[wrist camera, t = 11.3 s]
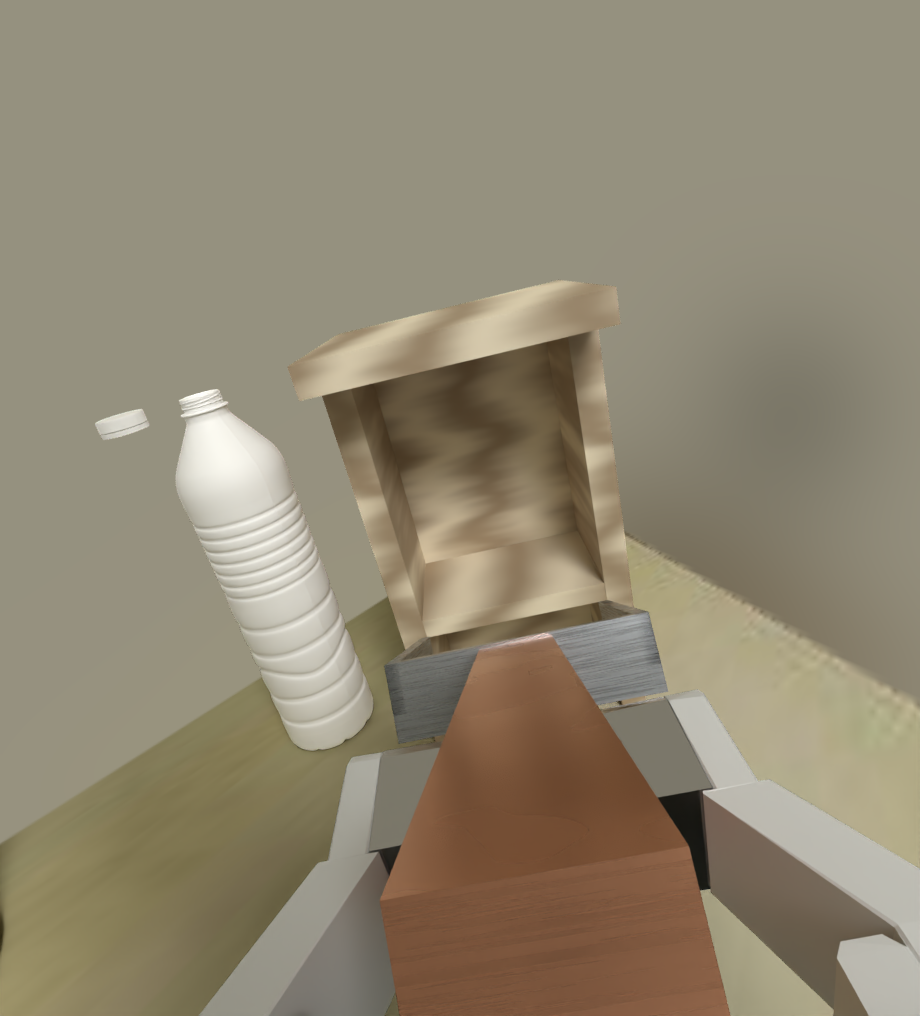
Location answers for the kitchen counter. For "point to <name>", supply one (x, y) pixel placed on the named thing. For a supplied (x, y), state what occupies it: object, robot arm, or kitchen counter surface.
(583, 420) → the stand
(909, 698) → the kitchen counter surface
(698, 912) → the shovel
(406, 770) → the robot arm
